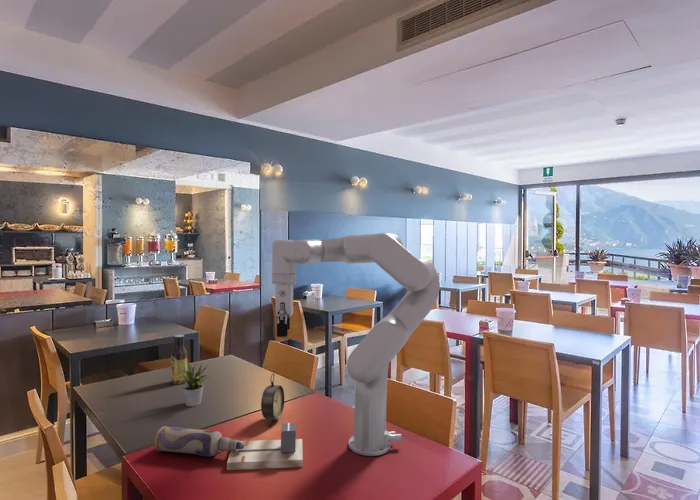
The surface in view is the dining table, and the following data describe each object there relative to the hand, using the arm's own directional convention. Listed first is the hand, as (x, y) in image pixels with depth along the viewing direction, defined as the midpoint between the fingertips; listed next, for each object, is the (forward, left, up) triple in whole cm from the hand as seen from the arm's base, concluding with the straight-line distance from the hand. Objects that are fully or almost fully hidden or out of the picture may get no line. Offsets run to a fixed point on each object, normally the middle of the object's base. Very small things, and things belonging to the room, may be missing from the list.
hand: (283, 332), depth 138 cm
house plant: (+35, -25, -32) cm, 54 cm away
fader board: (+4, +16, -32) cm, 36 cm away
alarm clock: (+4, -8, -32) cm, 33 cm away
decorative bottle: (+23, +13, -32) cm, 41 cm away
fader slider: (-2, +16, -29) cm, 33 cm away
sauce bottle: (+45, -49, -32) cm, 74 cm away
